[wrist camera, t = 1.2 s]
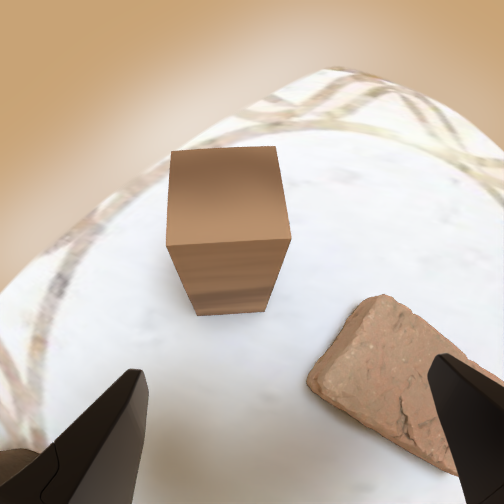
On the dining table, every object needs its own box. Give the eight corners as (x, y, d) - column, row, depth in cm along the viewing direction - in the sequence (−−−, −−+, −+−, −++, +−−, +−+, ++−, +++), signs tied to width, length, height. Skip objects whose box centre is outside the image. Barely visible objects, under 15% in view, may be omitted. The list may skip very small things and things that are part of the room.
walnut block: (264, 311, 24) (291, 238, 13) (197, 315, 23) (165, 245, 12) (258, 250, 26) (275, 146, 15) (195, 254, 25) (171, 151, 14)
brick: (299, 386, 22) (315, 386, 17) (357, 299, 25) (381, 280, 20) (443, 475, 18) (476, 483, 14) (484, 395, 21) (518, 390, 17)
